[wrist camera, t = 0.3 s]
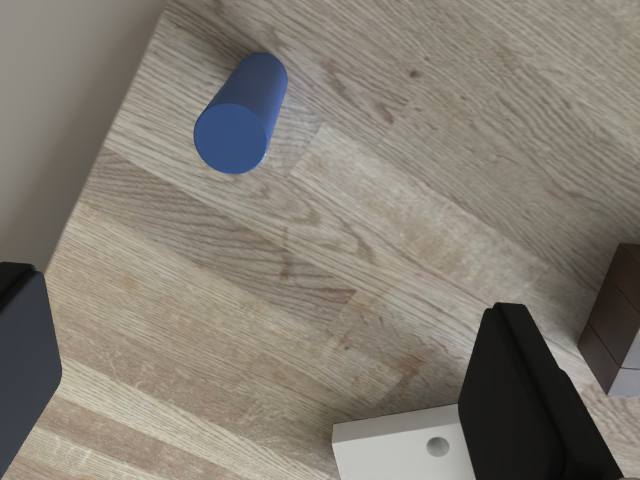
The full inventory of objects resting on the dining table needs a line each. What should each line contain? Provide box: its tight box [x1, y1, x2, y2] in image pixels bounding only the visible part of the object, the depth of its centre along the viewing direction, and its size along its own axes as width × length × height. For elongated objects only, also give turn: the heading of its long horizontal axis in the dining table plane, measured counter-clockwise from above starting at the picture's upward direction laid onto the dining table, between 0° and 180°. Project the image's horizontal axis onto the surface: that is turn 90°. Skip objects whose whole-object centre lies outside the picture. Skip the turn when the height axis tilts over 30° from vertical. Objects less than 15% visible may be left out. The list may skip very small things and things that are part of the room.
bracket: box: [332, 404, 476, 480], centre depth 42 cm, size 13×7×8 cm, turn 104°
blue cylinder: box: [194, 53, 287, 174], centre depth 26 cm, size 3×3×11 cm
